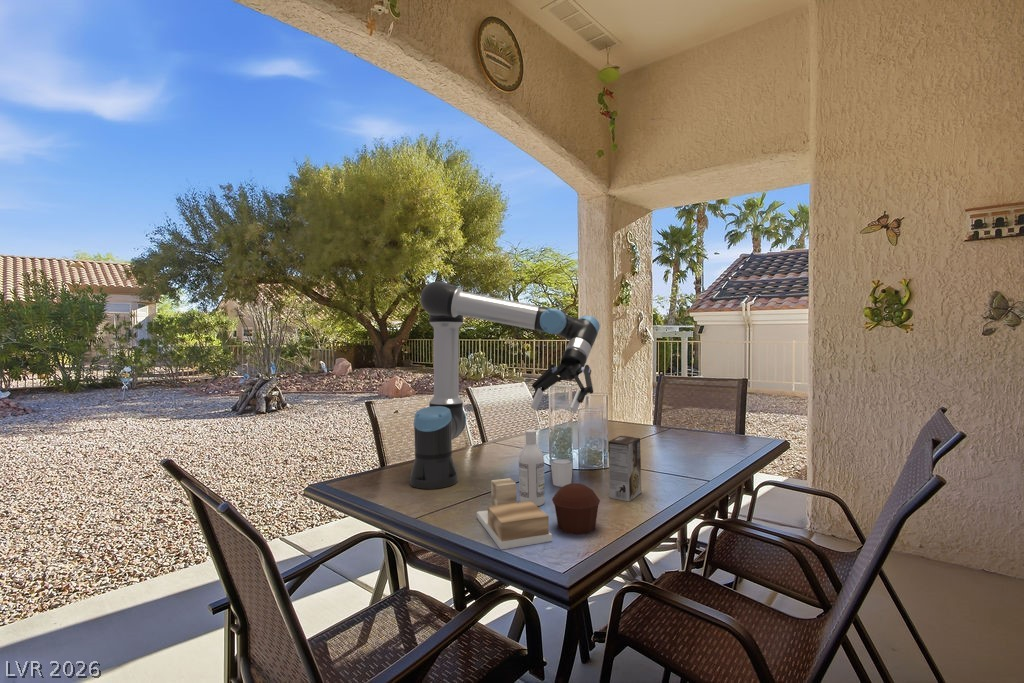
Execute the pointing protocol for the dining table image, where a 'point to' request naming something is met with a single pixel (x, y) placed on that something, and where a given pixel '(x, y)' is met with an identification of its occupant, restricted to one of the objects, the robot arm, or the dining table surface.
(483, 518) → the base board
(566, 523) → the muffin
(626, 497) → the coffee box
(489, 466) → the dining table surface
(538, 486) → the bath foam
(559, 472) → the white cup
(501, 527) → the oak plinth
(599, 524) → the dining table surface
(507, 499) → the beech post
